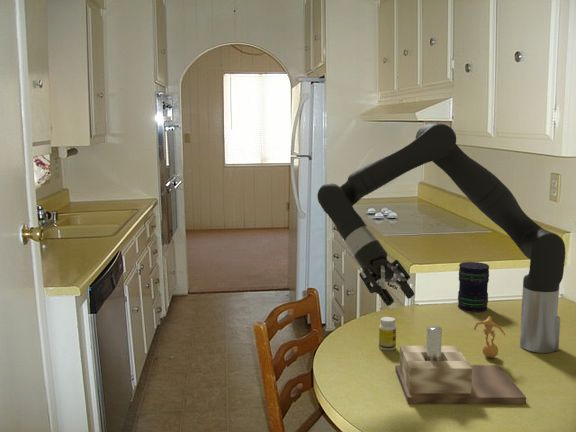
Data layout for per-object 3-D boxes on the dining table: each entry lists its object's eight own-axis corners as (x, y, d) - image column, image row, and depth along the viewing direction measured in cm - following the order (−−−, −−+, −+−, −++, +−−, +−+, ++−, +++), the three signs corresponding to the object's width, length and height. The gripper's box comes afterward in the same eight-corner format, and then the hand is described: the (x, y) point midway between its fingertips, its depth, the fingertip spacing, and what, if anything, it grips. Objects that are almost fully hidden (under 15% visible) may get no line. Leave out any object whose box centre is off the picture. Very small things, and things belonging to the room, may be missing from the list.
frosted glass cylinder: (439, 376, 143) (439, 325, 141) (442, 383, 140) (443, 330, 138) (424, 377, 143) (425, 325, 141) (427, 383, 140) (428, 330, 138)
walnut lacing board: (499, 370, 150) (499, 365, 150) (526, 403, 132) (526, 397, 132) (395, 370, 151) (395, 365, 151) (407, 403, 133) (407, 397, 133)
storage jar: (452, 304, 205) (453, 262, 203) (477, 302, 208) (479, 261, 205) (467, 313, 196) (468, 269, 193) (493, 311, 198) (495, 267, 196)
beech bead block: (455, 368, 148) (456, 345, 147) (471, 393, 134) (472, 368, 134) (399, 368, 149) (399, 345, 148) (409, 393, 135) (410, 368, 134)
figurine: (508, 358, 158) (510, 315, 156) (501, 365, 153) (503, 321, 151) (477, 351, 163) (479, 309, 161) (469, 358, 158) (471, 315, 156)
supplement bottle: (395, 351, 164) (396, 322, 163) (378, 350, 165) (378, 321, 164) (395, 345, 169) (396, 316, 167) (379, 343, 170) (379, 315, 168)
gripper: (356, 243, 145) (393, 298, 138) (391, 235, 155) (427, 286, 148) (339, 261, 149) (375, 314, 143) (374, 252, 159) (409, 302, 153)
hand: (401, 300), depth 146 cm, fingers open, 8 cm apart
